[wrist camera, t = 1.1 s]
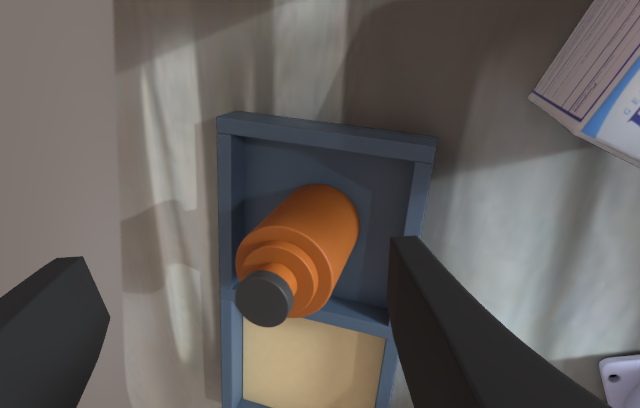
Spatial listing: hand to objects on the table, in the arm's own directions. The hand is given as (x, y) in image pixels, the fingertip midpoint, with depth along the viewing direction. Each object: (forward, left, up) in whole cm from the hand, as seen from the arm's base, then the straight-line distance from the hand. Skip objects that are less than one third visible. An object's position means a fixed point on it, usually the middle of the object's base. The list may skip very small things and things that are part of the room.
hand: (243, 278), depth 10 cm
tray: (-7, +5, -13) cm, 16 cm away
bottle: (-3, +3, -12) cm, 13 cm away
